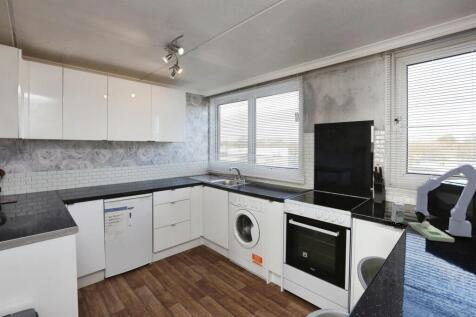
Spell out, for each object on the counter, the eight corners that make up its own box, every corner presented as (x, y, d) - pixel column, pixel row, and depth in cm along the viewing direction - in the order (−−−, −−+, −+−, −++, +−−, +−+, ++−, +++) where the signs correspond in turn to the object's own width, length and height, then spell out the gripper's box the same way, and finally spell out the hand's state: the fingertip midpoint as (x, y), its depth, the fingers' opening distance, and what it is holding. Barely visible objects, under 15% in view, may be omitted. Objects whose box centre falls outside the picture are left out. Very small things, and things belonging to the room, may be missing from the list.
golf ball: (427, 226, 148) (428, 220, 147) (431, 228, 144) (431, 222, 144) (420, 226, 149) (420, 220, 148) (423, 228, 145) (424, 222, 145)
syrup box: (398, 222, 163) (399, 202, 162) (404, 224, 157) (405, 204, 156) (390, 221, 163) (391, 201, 162) (395, 224, 157) (396, 203, 157)
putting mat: (428, 226, 153) (428, 223, 153) (454, 242, 128) (454, 238, 128) (408, 224, 157) (408, 222, 156) (429, 239, 131) (429, 236, 131)
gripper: (409, 200, 160) (408, 219, 161) (420, 205, 146) (419, 226, 147) (421, 201, 158) (420, 220, 159) (433, 206, 144) (431, 227, 145)
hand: (420, 223), depth 153 cm, fingers closed
